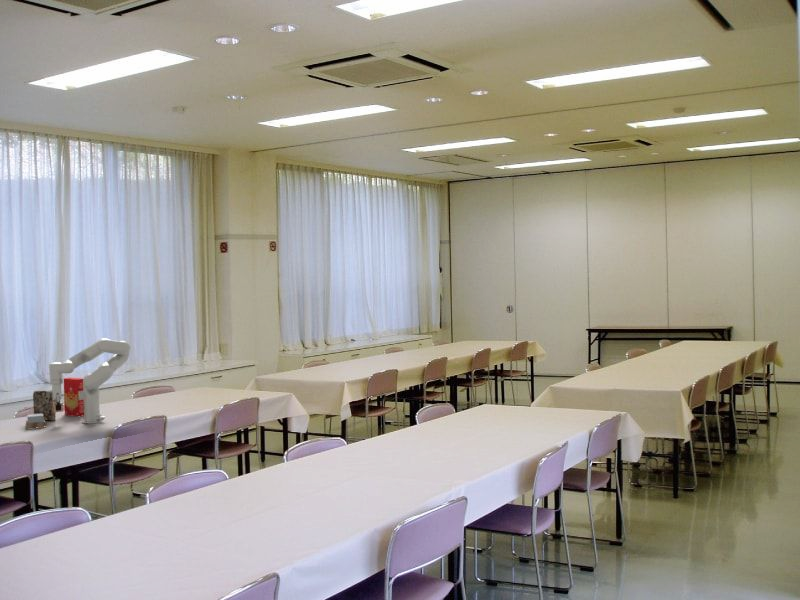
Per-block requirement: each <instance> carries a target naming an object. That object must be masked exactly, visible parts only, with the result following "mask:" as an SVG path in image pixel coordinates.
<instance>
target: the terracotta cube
mask: <svg viewBox="0 0 800 600" xmlns="http://www.w3.org/2000/svg"><path fill="white" fill-rule="evenodd" d="M60 402H61V410H60V411H56V402H55V403H53V409H54V412H56V413H61V412H64V402H63V401H60Z"/></svg>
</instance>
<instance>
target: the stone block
mask: <svg viewBox="0 0 800 600" xmlns="http://www.w3.org/2000/svg"><path fill="white" fill-rule="evenodd" d="M32 401H33V404H32V405H33V408H32V409H33V414H41V413H43V418H44V419H45V420H51V421H55V420H56V415H57V412H54V409H53V403H55V400H53V395H52V389H45V390H44V389H38V390H34V391H33V393H32Z"/></svg>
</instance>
